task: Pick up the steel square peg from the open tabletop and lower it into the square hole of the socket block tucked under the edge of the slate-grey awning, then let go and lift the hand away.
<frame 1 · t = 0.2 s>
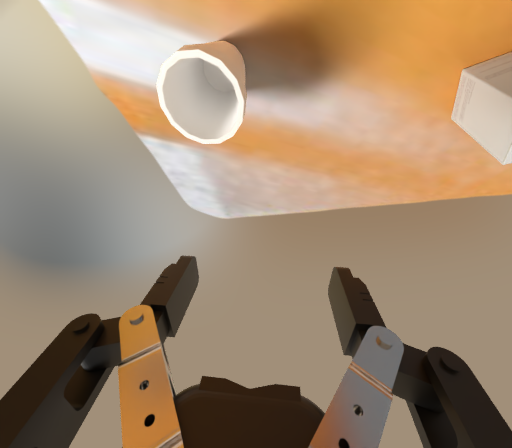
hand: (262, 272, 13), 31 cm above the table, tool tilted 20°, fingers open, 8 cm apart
foam cup: (224, 67, 32), on the table
supplement box: (486, 85, 30), on the table
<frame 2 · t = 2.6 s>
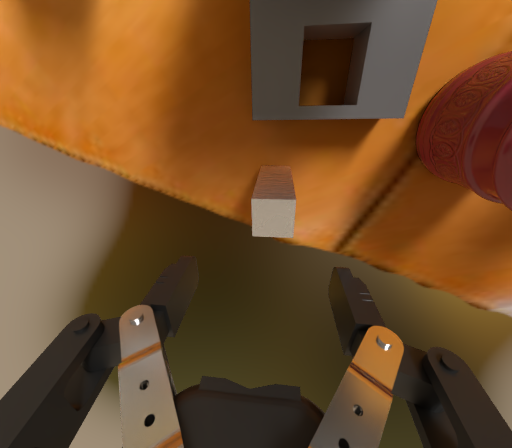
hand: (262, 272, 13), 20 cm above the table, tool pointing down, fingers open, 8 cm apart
canister: (472, 123, 25), on the table
socket: (328, 24, 22), on the table
peg: (275, 179, 31), on the table
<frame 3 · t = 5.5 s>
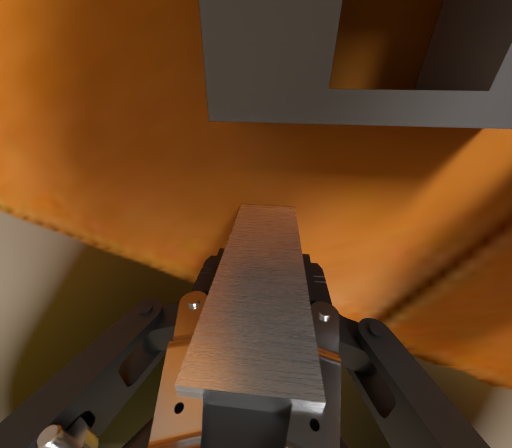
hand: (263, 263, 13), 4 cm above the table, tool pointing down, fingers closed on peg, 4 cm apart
peg: (266, 228, 17), on the table, touching gripper
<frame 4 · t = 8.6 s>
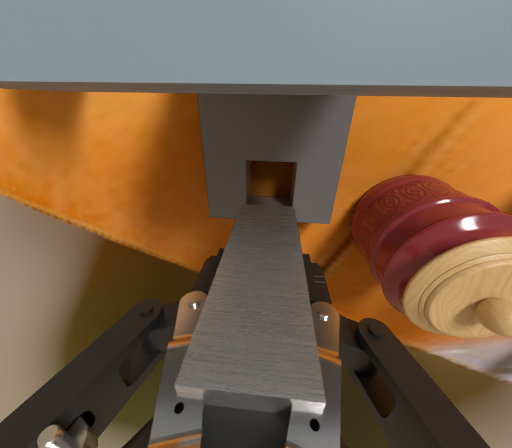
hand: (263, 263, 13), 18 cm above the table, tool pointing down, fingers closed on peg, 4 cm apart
canister: (395, 216, 30), on the table
socket: (273, 142, 27), on the table
peg: (266, 228, 17), point 14 cm above the table, touching gripper
awning: (279, 20, 21), on the table
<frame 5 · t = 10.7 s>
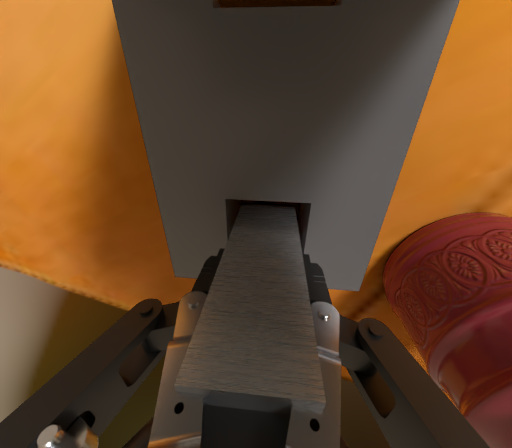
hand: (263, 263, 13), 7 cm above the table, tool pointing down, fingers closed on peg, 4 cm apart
canister: (448, 266, 21), on the table
socket: (270, 163, 18), on the table
peg: (266, 228, 17), point 3 cm above the table, touching gripper
when the fingers open (6 cm above the table, at t = 12.2 s): peg drops 2 cm, resting in socket.
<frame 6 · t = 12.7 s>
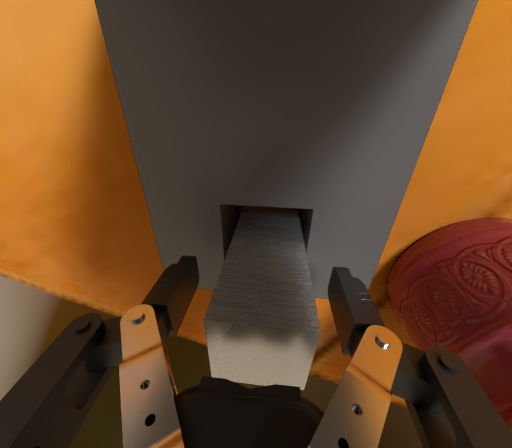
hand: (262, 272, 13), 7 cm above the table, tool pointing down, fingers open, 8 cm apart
canister: (456, 274, 20), on the table
socket: (269, 165, 16), on the table
peg: (269, 216, 19), resting in socket
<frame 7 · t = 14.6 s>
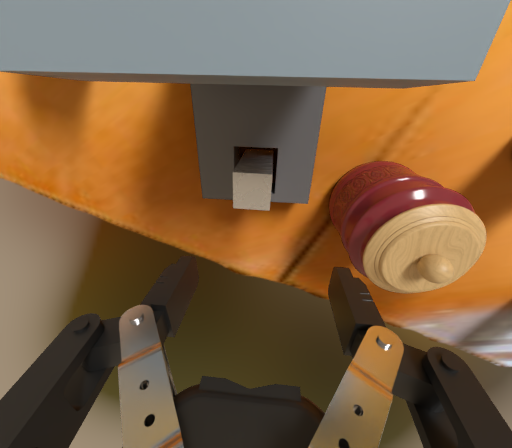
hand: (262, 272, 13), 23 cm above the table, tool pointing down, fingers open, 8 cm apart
canister: (368, 199, 34), on the table
socket: (258, 132, 30), on the table
peg: (259, 163, 33), resting in socket
awning: (261, 24, 25), on the table
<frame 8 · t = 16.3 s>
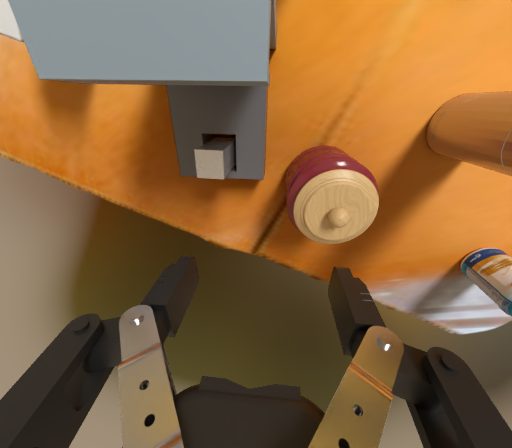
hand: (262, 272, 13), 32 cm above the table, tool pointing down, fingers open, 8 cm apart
canister: (318, 178, 42), on the table
socket: (224, 123, 38), on the table
peg: (227, 149, 41), resting in socket
beverage bottle: (479, 260, 48), on the table
awning: (220, 40, 33), on the table
supplement box: (76, 25, 34), on the table
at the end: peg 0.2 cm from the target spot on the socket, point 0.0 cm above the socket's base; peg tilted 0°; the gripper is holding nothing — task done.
